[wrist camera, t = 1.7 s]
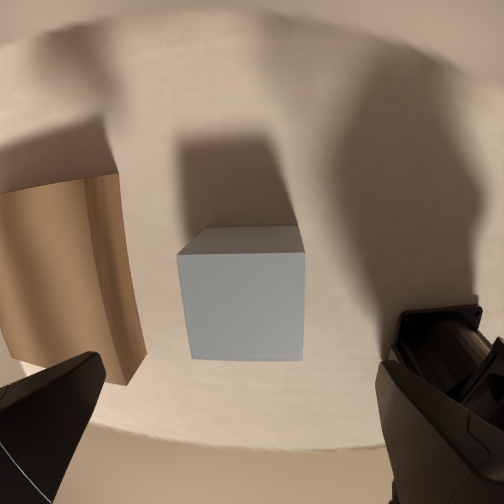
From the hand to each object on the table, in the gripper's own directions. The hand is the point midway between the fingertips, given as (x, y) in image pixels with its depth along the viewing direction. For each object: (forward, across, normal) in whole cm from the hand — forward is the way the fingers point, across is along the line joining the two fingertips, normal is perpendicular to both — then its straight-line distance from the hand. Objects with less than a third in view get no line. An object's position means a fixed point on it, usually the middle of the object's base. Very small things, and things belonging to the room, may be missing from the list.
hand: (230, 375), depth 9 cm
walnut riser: (+9, +13, 0) cm, 16 cm away
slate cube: (+9, 0, 0) cm, 9 cm away
